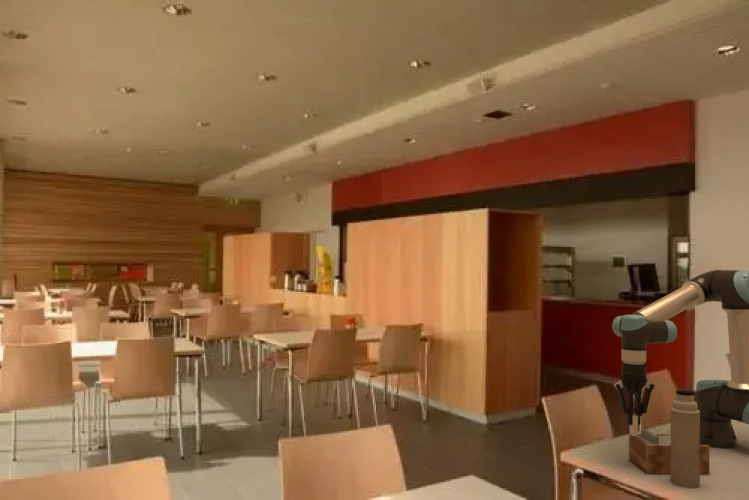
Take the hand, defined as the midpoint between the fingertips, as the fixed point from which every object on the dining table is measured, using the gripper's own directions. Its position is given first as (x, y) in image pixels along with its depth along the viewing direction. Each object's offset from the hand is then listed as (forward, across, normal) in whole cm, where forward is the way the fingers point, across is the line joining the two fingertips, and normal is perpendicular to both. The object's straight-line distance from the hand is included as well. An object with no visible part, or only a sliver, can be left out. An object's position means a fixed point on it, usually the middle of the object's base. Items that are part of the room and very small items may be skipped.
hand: (633, 434), depth 199 cm
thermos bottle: (+11, -9, +14) cm, 20 cm away
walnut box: (+11, -11, 0) cm, 16 cm away
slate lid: (+3, -11, 0) cm, 11 cm away
